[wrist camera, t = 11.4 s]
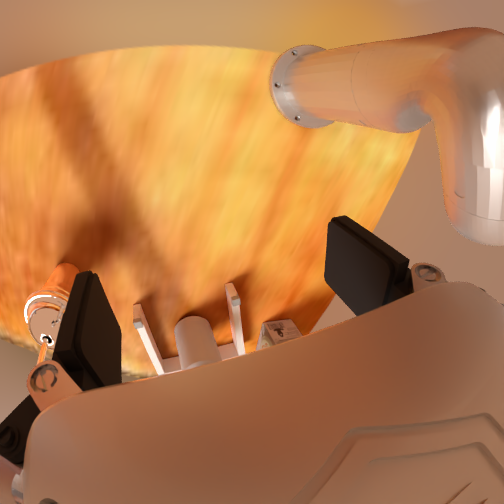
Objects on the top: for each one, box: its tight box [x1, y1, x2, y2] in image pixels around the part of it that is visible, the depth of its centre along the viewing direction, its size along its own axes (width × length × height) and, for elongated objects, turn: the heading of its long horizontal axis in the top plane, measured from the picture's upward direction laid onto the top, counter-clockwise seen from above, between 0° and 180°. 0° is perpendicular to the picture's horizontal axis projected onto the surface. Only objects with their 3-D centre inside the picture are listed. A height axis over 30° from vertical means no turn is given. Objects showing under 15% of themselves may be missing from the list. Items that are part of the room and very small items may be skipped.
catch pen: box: [133, 283, 245, 376], centre depth 46 cm, size 16×15×4 cm
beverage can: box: [174, 316, 222, 370], centre depth 43 cm, size 6×6×12 cm
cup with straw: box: [24, 263, 80, 364], centre depth 28 cm, size 8×9×20 cm
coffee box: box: [256, 319, 302, 351], centre depth 49 cm, size 9×6×16 cm
